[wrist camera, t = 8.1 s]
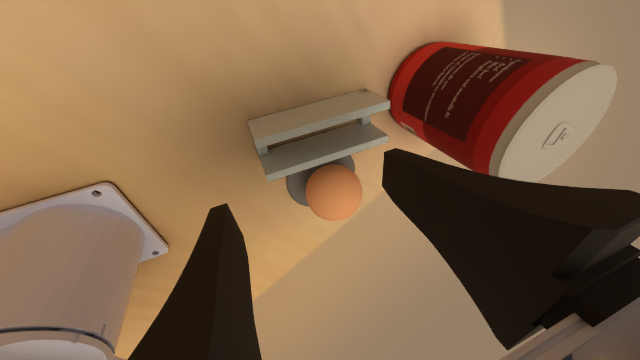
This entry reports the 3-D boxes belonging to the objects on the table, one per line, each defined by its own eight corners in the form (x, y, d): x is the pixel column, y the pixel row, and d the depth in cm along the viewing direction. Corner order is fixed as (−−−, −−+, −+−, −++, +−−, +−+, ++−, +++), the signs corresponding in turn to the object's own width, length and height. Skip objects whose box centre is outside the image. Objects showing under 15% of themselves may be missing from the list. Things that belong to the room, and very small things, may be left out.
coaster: (294, 213, 24) (295, 215, 24) (278, 158, 20) (279, 159, 20) (354, 191, 26) (355, 193, 26) (351, 135, 22) (353, 136, 21)
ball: (303, 205, 24) (323, 241, 20) (292, 165, 21) (313, 199, 17) (347, 187, 25) (373, 218, 21) (343, 147, 22) (373, 175, 18)
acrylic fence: (260, 158, 19) (268, 182, 17) (246, 120, 17) (253, 140, 15) (365, 125, 22) (387, 142, 19) (365, 88, 19) (390, 100, 17)
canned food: (447, 117, 25) (567, 171, 17) (382, 136, 23) (480, 207, 15) (468, 33, 20) (651, 49, 12) (389, 48, 18) (539, 80, 10)
